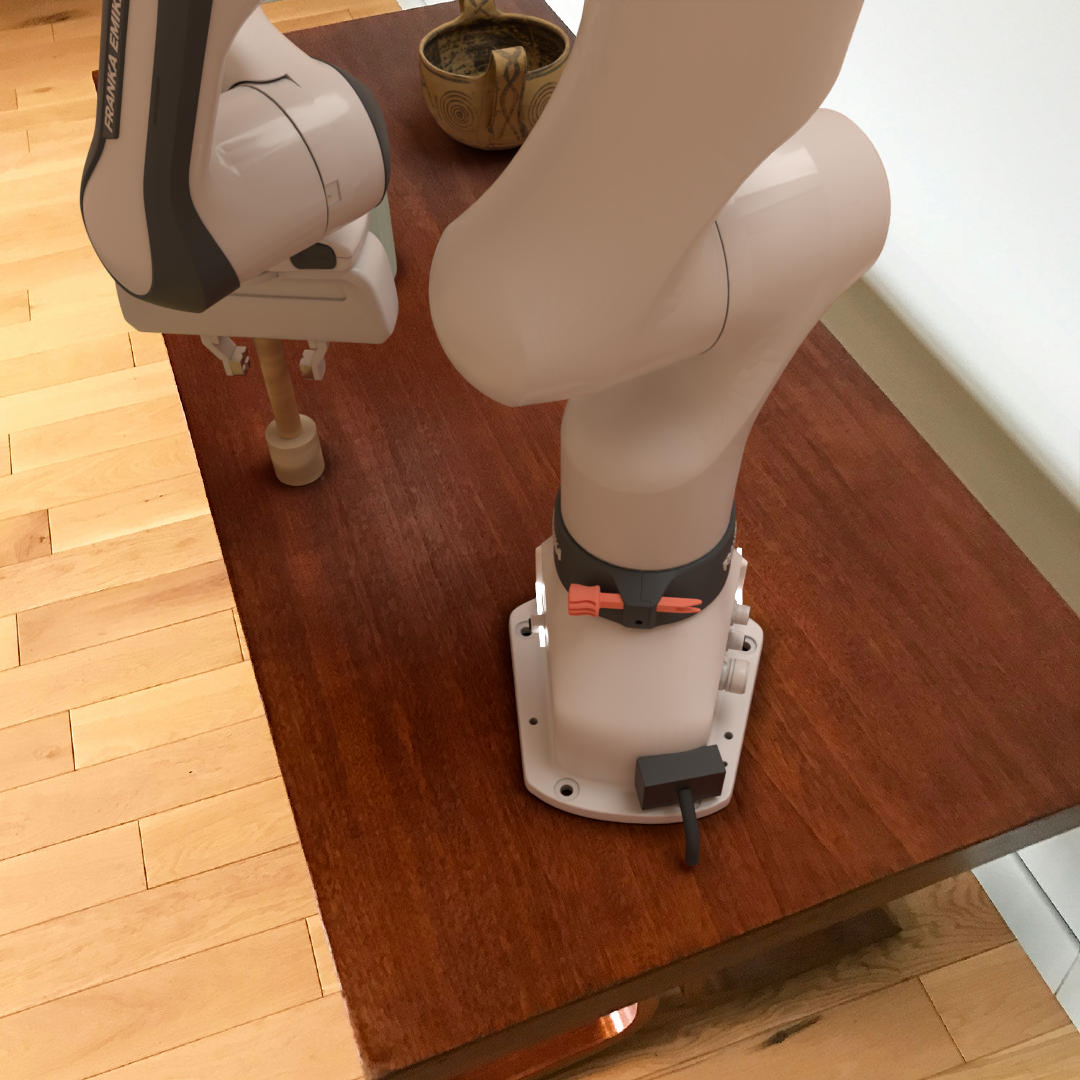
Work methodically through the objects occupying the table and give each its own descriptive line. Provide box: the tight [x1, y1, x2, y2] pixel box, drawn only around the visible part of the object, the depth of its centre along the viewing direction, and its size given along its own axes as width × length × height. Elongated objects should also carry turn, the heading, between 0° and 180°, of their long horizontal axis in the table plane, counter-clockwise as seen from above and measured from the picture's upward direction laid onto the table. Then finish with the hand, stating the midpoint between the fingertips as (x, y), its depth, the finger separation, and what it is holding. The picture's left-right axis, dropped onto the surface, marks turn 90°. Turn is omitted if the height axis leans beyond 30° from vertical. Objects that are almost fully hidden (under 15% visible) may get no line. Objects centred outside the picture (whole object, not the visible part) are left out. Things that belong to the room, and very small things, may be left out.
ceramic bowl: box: [418, 0, 571, 151], centre depth 125 cm, size 22×17×15 cm
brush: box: [252, 338, 326, 487], centre depth 89 cm, size 4×4×17 cm
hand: (277, 373), depth 87 cm, fingers open, 5 cm apart
